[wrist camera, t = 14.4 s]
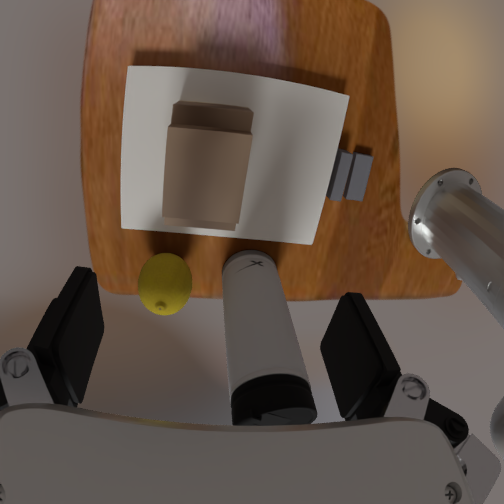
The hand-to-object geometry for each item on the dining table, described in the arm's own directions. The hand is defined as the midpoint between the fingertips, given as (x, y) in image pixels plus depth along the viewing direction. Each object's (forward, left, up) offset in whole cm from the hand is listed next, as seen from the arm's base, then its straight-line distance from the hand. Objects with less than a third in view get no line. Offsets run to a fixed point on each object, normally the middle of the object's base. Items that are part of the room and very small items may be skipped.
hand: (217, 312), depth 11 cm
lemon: (-6, +11, -21) cm, 25 cm away
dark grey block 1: (-9, -9, -20) cm, 24 cm away
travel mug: (-12, +5, -21) cm, 25 cm away
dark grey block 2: (-10, -11, -20) cm, 25 cm away
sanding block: (+1, 0, -20) cm, 19 cm away
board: (0, -1, -21) cm, 21 cm away
